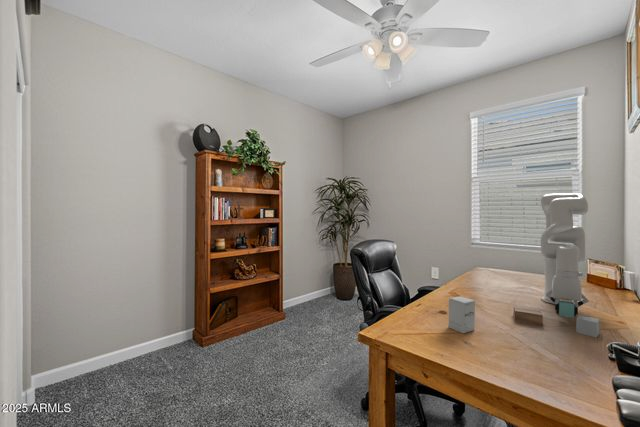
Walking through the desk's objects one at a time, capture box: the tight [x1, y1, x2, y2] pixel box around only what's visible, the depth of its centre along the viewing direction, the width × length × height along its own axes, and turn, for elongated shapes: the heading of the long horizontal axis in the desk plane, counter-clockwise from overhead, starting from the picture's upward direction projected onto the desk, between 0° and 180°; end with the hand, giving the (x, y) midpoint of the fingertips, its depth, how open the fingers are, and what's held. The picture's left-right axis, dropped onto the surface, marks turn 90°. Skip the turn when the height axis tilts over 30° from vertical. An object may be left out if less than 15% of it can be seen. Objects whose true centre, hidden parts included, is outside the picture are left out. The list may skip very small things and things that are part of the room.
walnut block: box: [513, 304, 544, 327], centre depth 129 cm, size 10×10×5 cm
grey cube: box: [575, 314, 601, 338], centre depth 115 cm, size 6×6×6 cm
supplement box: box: [448, 296, 476, 334], centre depth 118 cm, size 7×7×13 cm
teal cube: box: [558, 300, 575, 319], centre depth 126 cm, size 5×5×6 cm
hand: (566, 313), depth 127 cm, fingers closed on teal cube, 5 cm apart
